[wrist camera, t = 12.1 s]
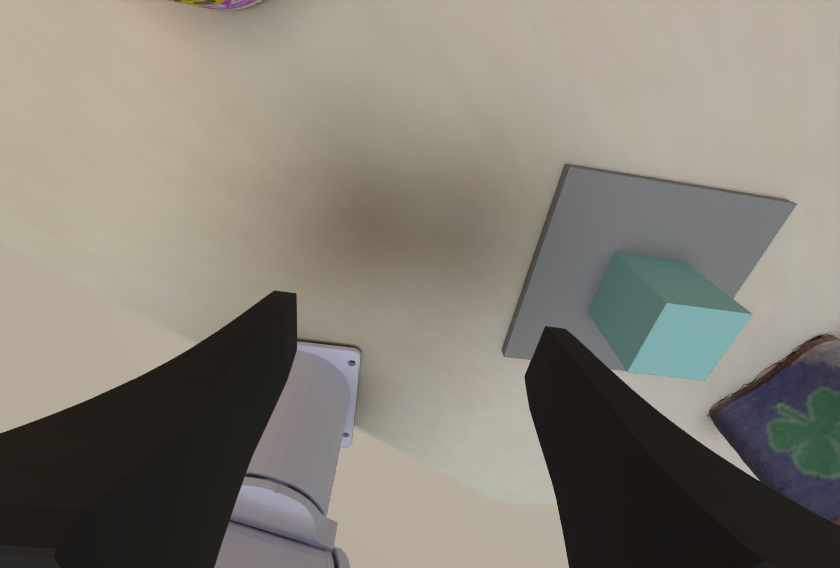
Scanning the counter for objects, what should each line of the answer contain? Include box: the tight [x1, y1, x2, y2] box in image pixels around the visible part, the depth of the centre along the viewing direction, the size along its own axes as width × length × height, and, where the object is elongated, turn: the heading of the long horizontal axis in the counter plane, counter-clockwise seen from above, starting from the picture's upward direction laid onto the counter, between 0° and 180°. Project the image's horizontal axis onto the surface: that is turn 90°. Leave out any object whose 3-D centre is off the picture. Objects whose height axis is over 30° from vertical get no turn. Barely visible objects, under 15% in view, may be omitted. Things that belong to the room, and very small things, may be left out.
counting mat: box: [502, 164, 797, 371], centre depth 22 cm, size 12×12×1 cm
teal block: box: [588, 252, 753, 381], centre depth 20 cm, size 4×4×5 cm
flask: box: [707, 335, 840, 526], centre depth 22 cm, size 9×3×11 cm, turn 147°
